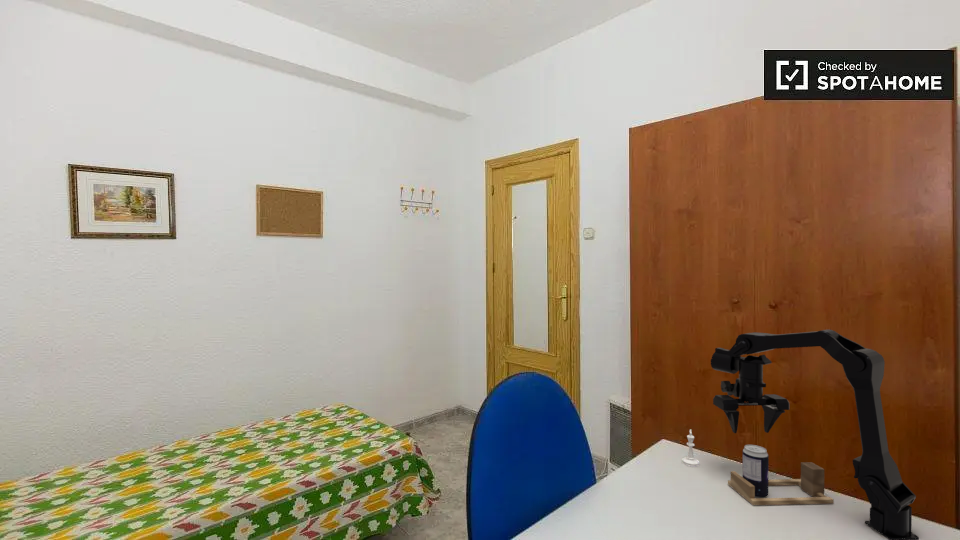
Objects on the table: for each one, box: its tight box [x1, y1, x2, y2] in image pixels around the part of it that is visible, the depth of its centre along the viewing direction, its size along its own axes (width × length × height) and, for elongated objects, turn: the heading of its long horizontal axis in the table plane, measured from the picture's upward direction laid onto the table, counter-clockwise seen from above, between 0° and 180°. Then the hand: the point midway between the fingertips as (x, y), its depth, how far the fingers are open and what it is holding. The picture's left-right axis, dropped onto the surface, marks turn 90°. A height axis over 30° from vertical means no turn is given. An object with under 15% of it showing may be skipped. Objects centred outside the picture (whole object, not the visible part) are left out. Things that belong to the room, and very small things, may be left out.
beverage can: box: [742, 444, 770, 498], centre depth 113 cm, size 6×6×12 cm
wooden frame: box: [727, 461, 835, 506], centre depth 114 cm, size 21×10×7 cm, turn 92°
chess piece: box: [681, 429, 701, 468], centre depth 132 cm, size 5×5×10 cm
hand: (750, 432), depth 124 cm, fingers open, 9 cm apart
